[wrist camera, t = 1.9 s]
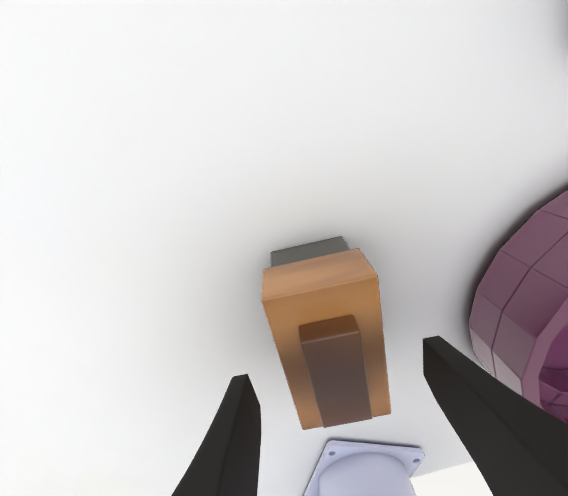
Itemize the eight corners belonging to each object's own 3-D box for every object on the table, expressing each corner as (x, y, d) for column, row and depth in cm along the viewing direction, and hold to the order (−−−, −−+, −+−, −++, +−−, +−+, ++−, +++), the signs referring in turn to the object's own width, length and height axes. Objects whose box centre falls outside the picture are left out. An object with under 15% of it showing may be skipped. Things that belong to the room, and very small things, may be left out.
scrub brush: (363, 344, 18) (400, 436, 13) (295, 358, 18) (304, 453, 13) (347, 229, 14) (389, 289, 9) (263, 248, 15) (259, 317, 9)
